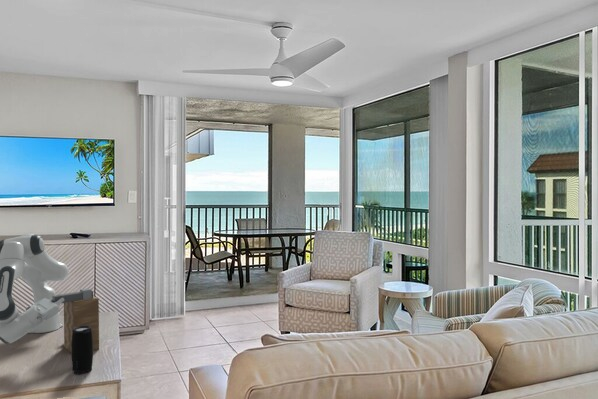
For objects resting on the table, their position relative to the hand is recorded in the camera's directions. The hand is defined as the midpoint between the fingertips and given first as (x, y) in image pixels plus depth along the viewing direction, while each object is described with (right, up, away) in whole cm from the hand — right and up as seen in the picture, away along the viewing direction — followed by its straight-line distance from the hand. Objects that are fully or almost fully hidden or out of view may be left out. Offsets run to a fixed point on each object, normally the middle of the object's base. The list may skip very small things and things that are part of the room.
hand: (61, 297), depth 226 cm
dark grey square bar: (+4, -2, +4) cm, 6 cm away
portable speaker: (+19, -29, -19) cm, 40 cm away
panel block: (+5, -28, +11) cm, 31 cm away
